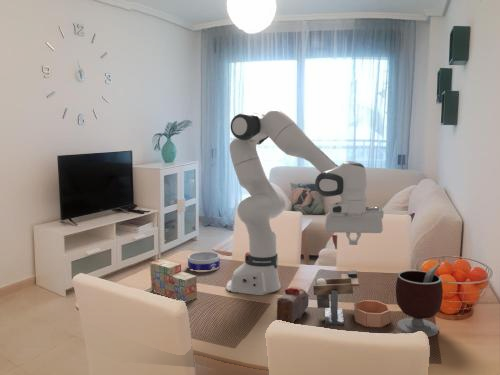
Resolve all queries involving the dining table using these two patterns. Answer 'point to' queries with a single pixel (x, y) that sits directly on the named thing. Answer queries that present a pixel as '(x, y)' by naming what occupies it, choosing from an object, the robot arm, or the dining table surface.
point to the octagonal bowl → (371, 313)
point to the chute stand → (334, 311)
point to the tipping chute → (335, 287)
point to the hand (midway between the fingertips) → (353, 244)
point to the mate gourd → (419, 299)
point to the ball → (321, 282)
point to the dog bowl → (203, 260)
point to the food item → (292, 304)
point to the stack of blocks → (172, 280)
